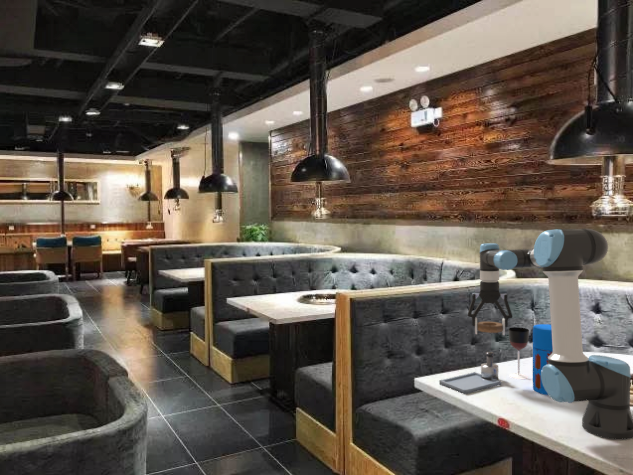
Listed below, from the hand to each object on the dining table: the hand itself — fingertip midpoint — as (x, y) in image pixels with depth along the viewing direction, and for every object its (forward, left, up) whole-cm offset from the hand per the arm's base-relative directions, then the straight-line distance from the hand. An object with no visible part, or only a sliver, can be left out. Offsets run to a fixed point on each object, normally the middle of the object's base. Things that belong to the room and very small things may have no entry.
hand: (489, 334), depth 217 cm
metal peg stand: (0, 0, -19) cm, 19 cm away
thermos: (-9, -21, -19) cm, 30 cm away
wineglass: (+7, -12, -19) cm, 24 cm away
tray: (-8, +8, -19) cm, 22 cm away
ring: (0, 0, +2) cm, 2 cm away
